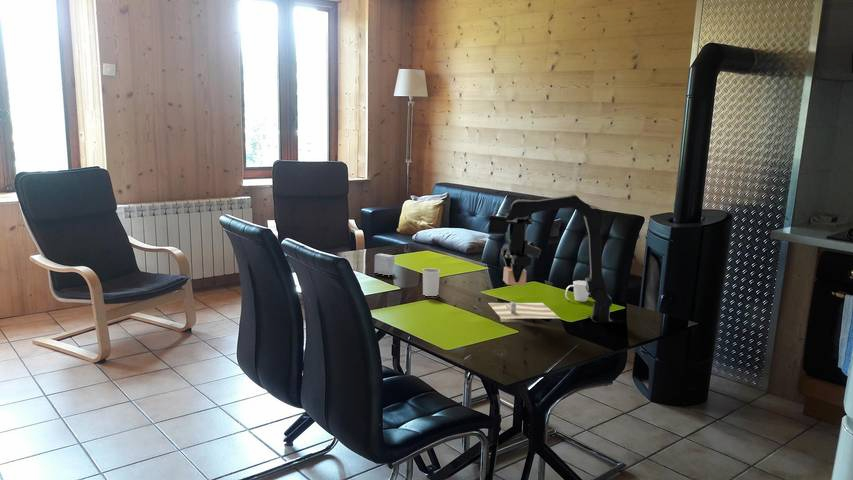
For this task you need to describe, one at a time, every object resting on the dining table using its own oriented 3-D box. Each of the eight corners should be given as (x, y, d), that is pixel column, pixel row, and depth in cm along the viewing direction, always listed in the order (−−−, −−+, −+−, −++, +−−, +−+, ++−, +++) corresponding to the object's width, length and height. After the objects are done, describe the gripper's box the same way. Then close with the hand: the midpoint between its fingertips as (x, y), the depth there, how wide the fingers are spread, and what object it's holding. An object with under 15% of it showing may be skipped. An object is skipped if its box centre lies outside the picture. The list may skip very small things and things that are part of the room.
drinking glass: (442, 295, 263) (443, 270, 261) (430, 298, 258) (431, 272, 256) (429, 292, 267) (430, 267, 266) (418, 294, 263) (419, 269, 261)
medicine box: (394, 275, 296) (395, 255, 294) (388, 276, 292) (389, 257, 290) (380, 272, 300) (380, 253, 298) (373, 274, 296) (374, 254, 295)
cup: (593, 305, 257) (594, 284, 256) (568, 305, 255) (570, 285, 253) (584, 300, 264) (586, 280, 262) (560, 301, 261) (562, 280, 260)
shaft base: (560, 321, 234) (561, 308, 233) (501, 321, 231) (501, 308, 230) (542, 306, 253) (543, 294, 252) (487, 306, 250) (488, 294, 249)
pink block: (525, 285, 235) (526, 270, 234) (507, 284, 234) (508, 269, 233) (520, 280, 241) (521, 266, 240) (503, 280, 240) (503, 265, 239)
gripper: (548, 241, 227) (544, 286, 230) (531, 232, 245) (528, 274, 248) (516, 240, 225) (512, 286, 228) (501, 231, 243) (499, 273, 246)
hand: (514, 280), depth 238 cm, fingers closed on pink block, 6 cm apart
